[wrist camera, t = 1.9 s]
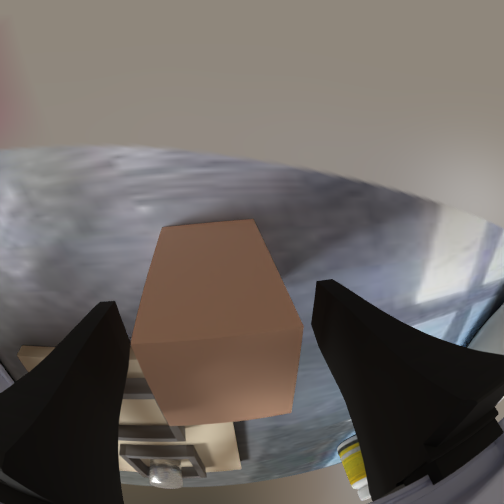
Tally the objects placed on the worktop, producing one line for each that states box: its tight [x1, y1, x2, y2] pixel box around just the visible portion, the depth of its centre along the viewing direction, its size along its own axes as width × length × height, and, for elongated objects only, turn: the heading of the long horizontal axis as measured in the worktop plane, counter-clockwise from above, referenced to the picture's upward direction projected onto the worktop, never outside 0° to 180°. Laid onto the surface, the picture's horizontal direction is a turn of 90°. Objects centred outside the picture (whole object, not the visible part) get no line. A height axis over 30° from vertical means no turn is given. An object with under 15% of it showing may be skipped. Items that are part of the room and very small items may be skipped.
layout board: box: [17, 345, 241, 478], centre depth 18 cm, size 14×20×2 cm
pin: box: [150, 459, 183, 489], centre depth 19 cm, size 3×3×3 cm
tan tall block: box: [131, 219, 304, 426], centre depth 10 cm, size 4×4×7 cm
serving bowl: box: [467, 303, 504, 403], centre depth 21 cm, size 21×21×7 cm
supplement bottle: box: [337, 435, 371, 501], centre depth 24 cm, size 5×5×8 cm
